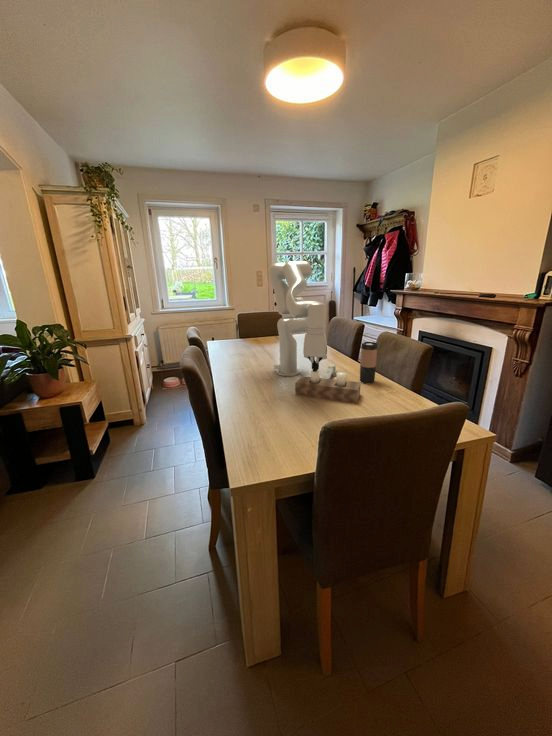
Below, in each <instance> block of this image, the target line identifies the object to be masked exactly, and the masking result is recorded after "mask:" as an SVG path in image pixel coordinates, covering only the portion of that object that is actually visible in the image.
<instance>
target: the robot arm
mask: <svg viewBox="0 0 552 736" xmlns="http://www.w3.org/2000/svg"><path fill="white" fill-rule="evenodd" d="M312 268H313V267H312V266H311V264H310V262H309V261H307V260H289V261H287V262H283V261H282V262H275V263H272V264H271V265H270V267H269V269H268V277H269V281H270V283H271V286H272V288H273V291H274V296H275V302H276V309H277V313H278V314H279V315H281V316H283V317H281V318H279V319H278V321H277V322H276V323H277V324H276V327H277V331H278V332H277V333H278V340H279V342H278V343H279V364H273V369H275V370H277V374H278V375H279V376H282V377H294V376H298V375H299V374H300V372H301V370H300V369H298V343H297V339H295V337H294V336H293V335H299V334H304V340H303V348H302V349H303V350H302V351H303V353H302V355H303V358H304V359H305V358H306V359H308V360H309V361H310V363H311V370H313V371H315V372H316V371H317V370H319V369H320V362H321V361H323V360H327V359H328V340H327V334H326V333H325V313H326V309H325V308H326V307H325V306H326V305H325V304H324V303H323V302H321V301H320V302H319V301H317V300H305V299H304V298H303V297H302V296H299V295H300V294H302V293H303V292H304V291H305V290H306V289H307V286H308V283H307V280H306V279H308V278H310V277H311V276H312V272H313V271H312V270H313V269H312ZM285 280H286V282H285ZM284 316H285V317H284Z"/></svg>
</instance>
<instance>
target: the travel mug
mask: <svg viewBox="0 0 552 736" xmlns="http://www.w3.org/2000/svg"><path fill="white" fill-rule="evenodd" d="M360 349H361V350H360V361H359V362H360V363H359V365H360V366H359V382H360V381H361V383H362V382H363V383H362V384H366V383H371V384H374V383H375V378H376V370H377V355H378V343H377V342H376V341H375V342H374V341H364V342H363V343H361V347H360ZM373 382H374V383H373Z"/></svg>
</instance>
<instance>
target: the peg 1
mask: <svg viewBox="0 0 552 736" xmlns="http://www.w3.org/2000/svg"><path fill="white" fill-rule="evenodd" d="M320 371H321V370H319V369H318V370H317V371H316V372H315V371H313V369H311V370H310V377H311V383H319V378H320Z"/></svg>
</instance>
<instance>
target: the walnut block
mask: <svg viewBox="0 0 552 736" xmlns="http://www.w3.org/2000/svg"><path fill="white" fill-rule="evenodd" d="M336 380H337V379H332V378H330V379H324V378H322V377H319V383H311V376H305V375H301V376H300V377H299V378H298V379H297V380H296V381H295V382H294V385H295V386H294V393H295V394H294V396H302V397H308V398H309V397H310V398H316V399H323V400H324V399H325V400H330V399H331V400H332V401H337V400H339V402H345V401H348V402H347V403H353V402H354V404H357V403H358V401H359V398H360V396H361V385H362V384H361V383H362V382H360V381H353V380H352V381H351V380H346V382H345V386H337V385H336ZM331 400H330V401H331Z"/></svg>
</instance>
